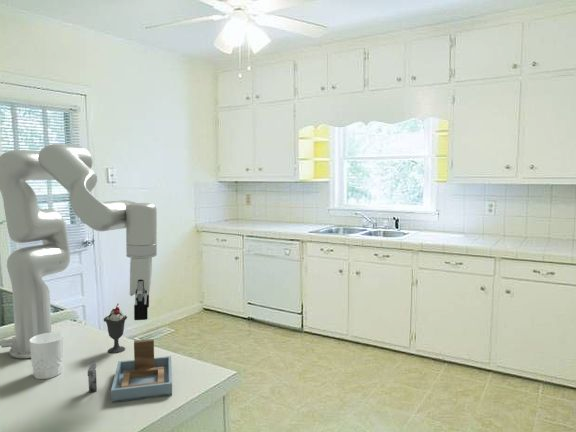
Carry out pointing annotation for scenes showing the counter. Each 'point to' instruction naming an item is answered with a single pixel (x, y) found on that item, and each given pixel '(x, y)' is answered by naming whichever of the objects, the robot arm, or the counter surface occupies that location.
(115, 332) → the sundae
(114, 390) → the tray
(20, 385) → the counter surface
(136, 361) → the ring
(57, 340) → the white cup
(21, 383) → the counter surface
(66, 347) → the counter surface
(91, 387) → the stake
